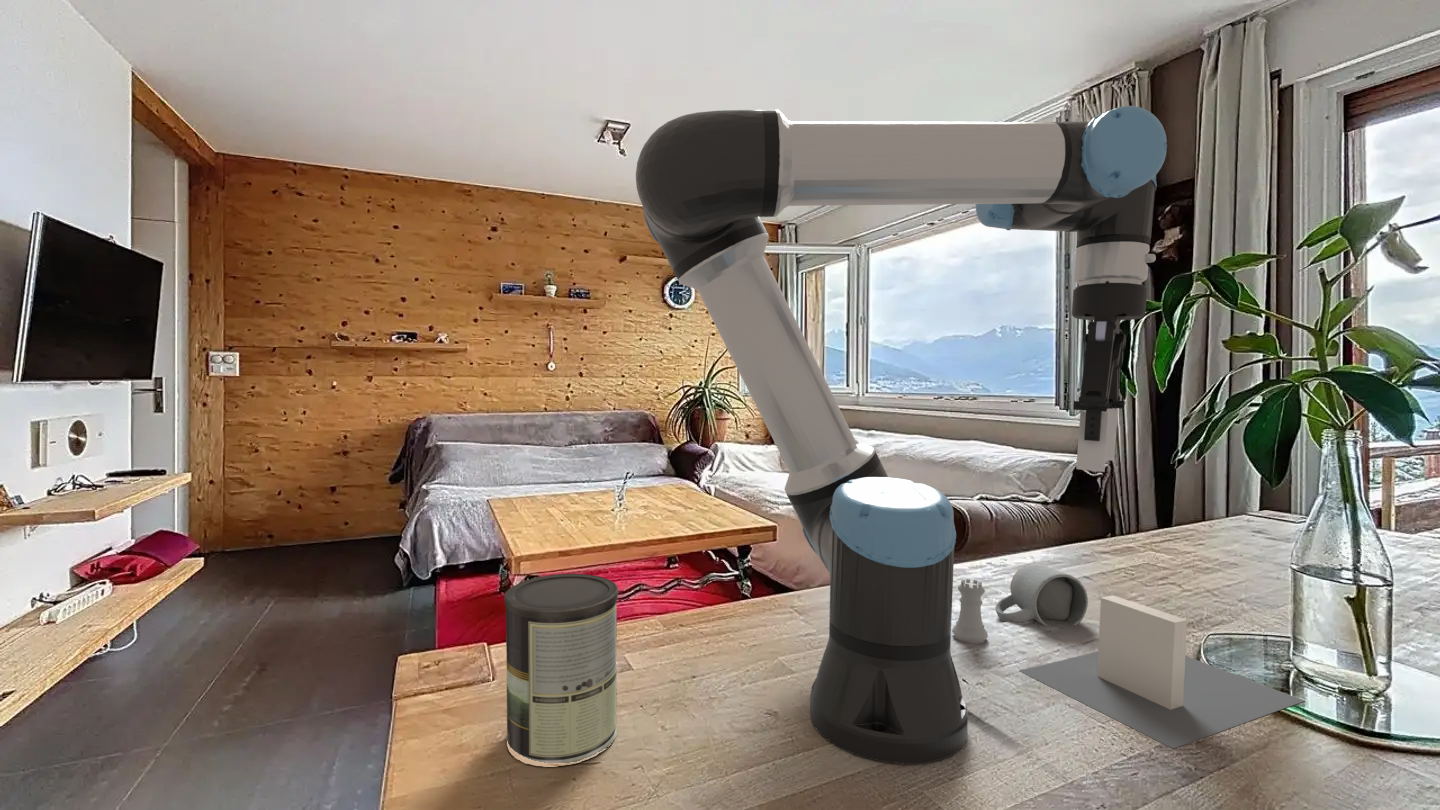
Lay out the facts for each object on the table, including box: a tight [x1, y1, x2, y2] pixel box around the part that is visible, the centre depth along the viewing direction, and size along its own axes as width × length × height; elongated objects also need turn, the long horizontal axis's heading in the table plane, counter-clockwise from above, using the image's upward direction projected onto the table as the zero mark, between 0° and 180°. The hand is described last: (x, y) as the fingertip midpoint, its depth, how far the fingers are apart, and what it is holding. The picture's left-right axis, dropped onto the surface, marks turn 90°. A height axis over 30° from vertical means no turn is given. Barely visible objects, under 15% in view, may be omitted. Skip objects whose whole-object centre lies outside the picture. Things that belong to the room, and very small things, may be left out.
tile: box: [1097, 594, 1188, 710], centre depth 72 cm, size 2×8×9 cm, turn 25°
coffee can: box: [504, 573, 619, 763], centre depth 63 cm, size 10×10×14 cm
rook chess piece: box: [951, 578, 989, 645], centre depth 86 cm, size 4×4×8 cm
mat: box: [1019, 650, 1305, 750], centre depth 73 cm, size 22×17×1 cm
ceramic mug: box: [994, 564, 1089, 627], centre depth 94 cm, size 11×8×8 cm
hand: (1096, 464), depth 80 cm, fingers open, 13 cm apart
